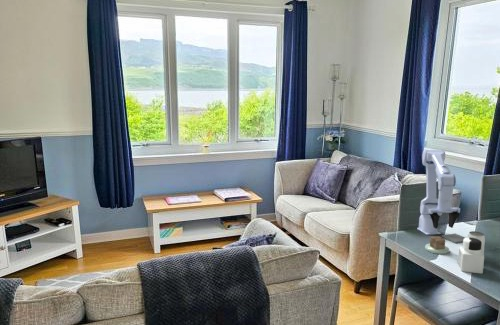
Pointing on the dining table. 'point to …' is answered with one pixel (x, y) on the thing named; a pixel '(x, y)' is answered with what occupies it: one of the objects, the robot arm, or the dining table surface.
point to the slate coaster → (453, 238)
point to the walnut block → (437, 243)
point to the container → (471, 256)
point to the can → (478, 236)
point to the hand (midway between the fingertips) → (443, 227)
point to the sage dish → (432, 250)
